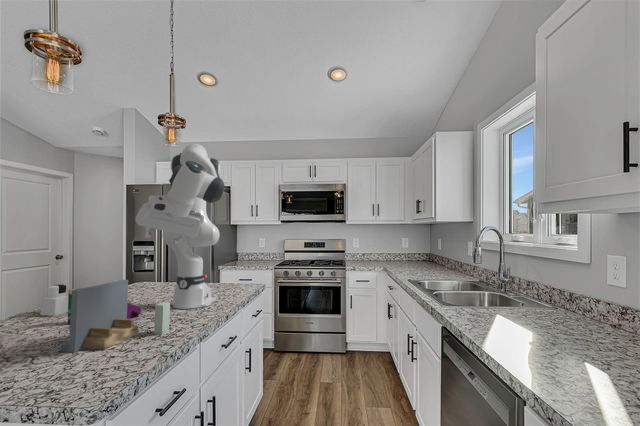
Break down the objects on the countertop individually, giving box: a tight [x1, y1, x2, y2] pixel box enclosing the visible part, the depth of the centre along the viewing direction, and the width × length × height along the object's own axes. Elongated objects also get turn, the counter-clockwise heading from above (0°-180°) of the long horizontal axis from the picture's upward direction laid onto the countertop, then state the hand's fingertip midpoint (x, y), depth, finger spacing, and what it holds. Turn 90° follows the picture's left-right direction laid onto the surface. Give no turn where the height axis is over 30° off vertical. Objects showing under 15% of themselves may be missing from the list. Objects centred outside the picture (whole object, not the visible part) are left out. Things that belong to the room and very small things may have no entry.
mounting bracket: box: [127, 301, 142, 319], centre depth 121 cm, size 9×8×18 cm
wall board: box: [59, 279, 129, 353], centre depth 101 cm, size 20×5×18 cm, turn 172°
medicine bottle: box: [40, 284, 68, 317], centre depth 130 cm, size 7×7×12 cm
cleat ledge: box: [84, 318, 139, 351], centre depth 100 cm, size 14×7×6 cm, turn 172°
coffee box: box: [67, 288, 82, 326], centre depth 118 cm, size 8×3×13 cm, turn 126°
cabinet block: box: [153, 301, 171, 335], centre depth 108 cm, size 4×3×10 cm
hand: (161, 240), depth 106 cm, fingers open, 8 cm apart
